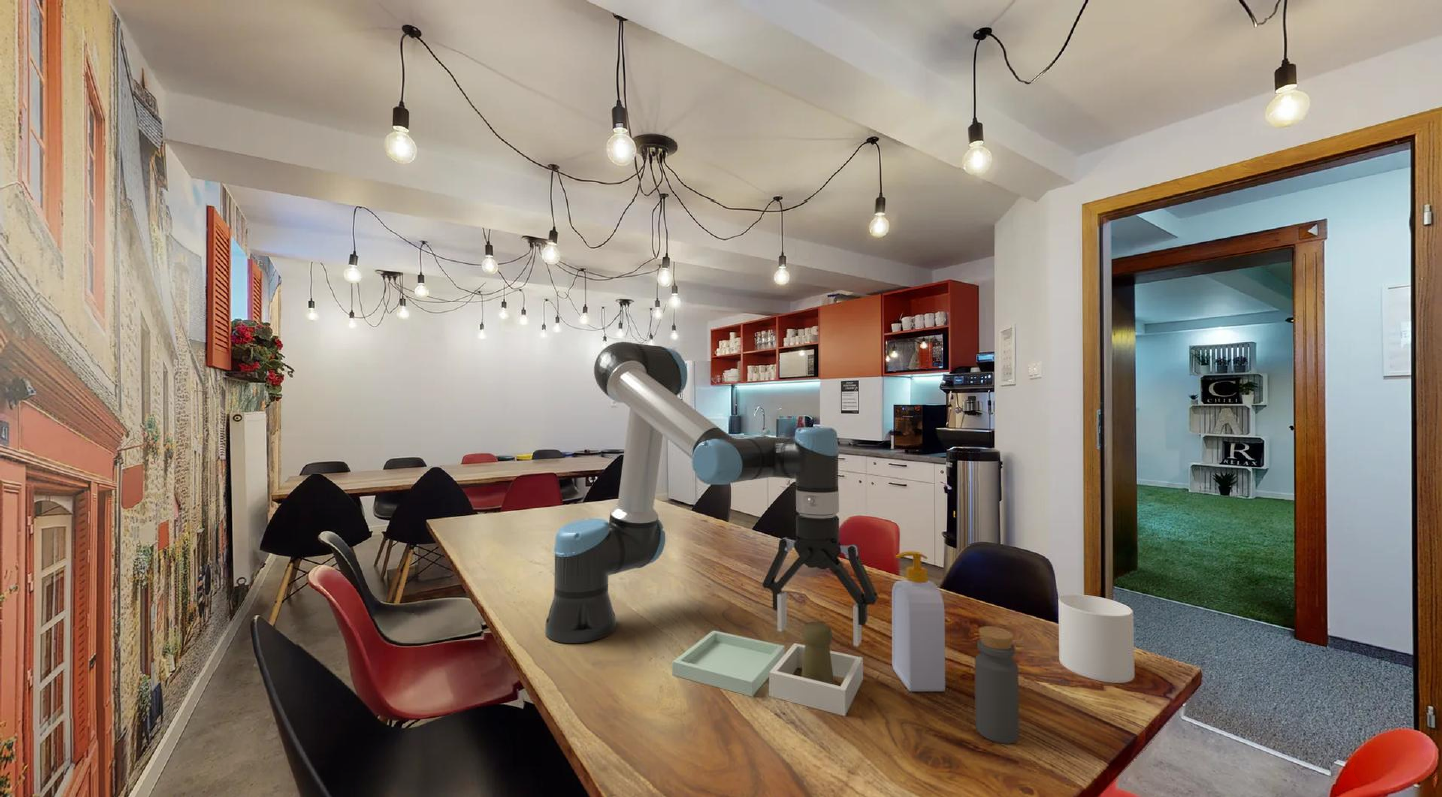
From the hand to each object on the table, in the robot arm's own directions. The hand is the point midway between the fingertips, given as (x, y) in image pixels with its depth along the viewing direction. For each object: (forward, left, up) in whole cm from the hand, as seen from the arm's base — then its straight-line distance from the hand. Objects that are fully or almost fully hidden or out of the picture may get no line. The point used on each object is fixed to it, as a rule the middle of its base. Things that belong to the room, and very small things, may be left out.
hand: (818, 635), depth 93 cm
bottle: (+28, 0, -9) cm, 29 cm away
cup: (+45, +32, -9) cm, 56 cm away
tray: (-17, 0, -9) cm, 20 cm away
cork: (0, 0, -9) cm, 9 cm away
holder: (0, 0, -9) cm, 9 cm away
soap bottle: (+15, +11, -9) cm, 21 cm away
